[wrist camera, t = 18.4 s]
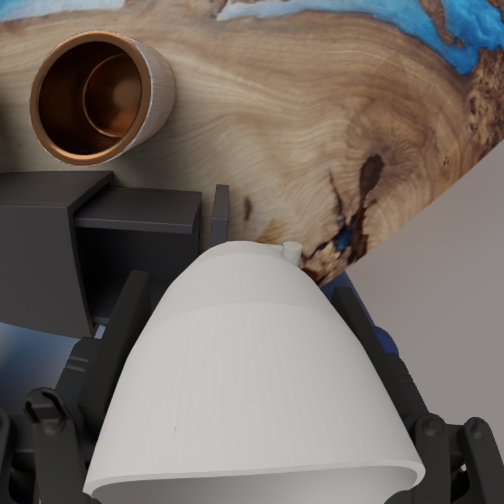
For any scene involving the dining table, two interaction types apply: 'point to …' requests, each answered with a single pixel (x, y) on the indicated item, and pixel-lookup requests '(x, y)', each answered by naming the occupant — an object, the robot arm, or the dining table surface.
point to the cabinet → (44, 250)
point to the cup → (249, 397)
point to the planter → (99, 97)
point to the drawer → (145, 240)
